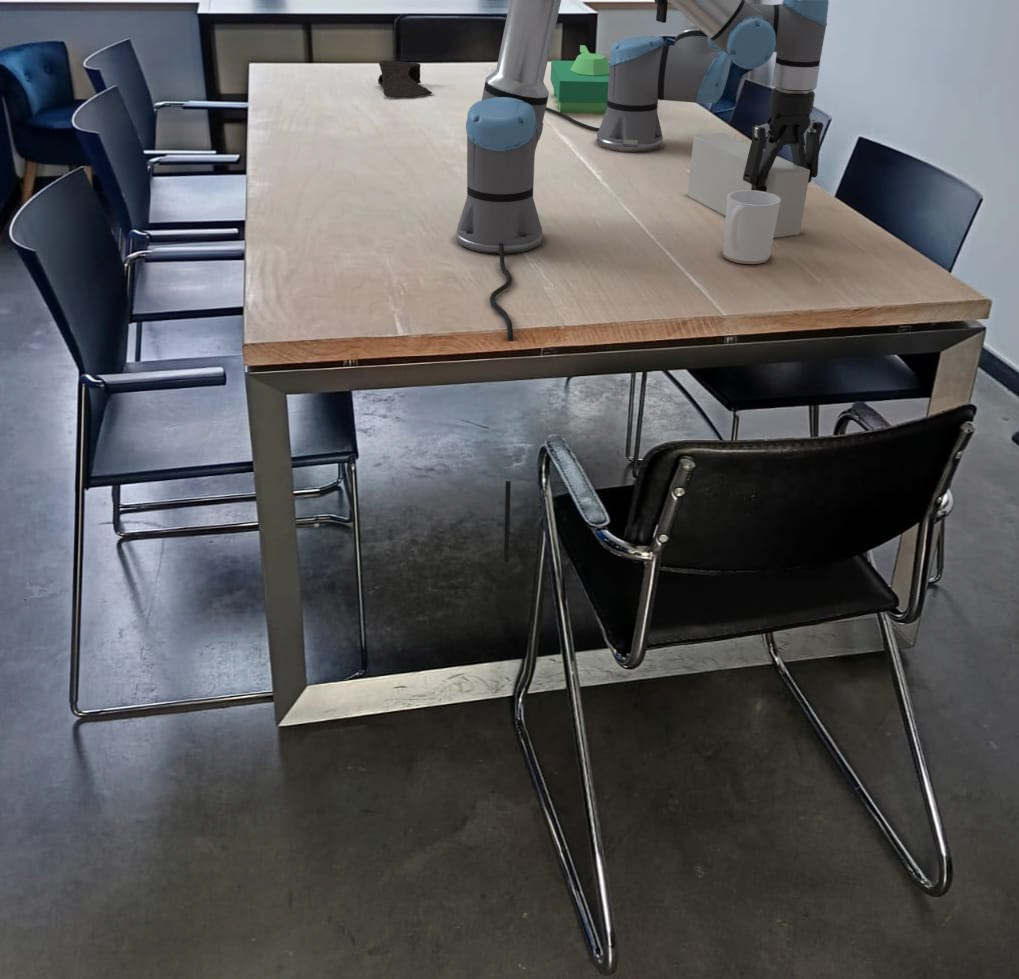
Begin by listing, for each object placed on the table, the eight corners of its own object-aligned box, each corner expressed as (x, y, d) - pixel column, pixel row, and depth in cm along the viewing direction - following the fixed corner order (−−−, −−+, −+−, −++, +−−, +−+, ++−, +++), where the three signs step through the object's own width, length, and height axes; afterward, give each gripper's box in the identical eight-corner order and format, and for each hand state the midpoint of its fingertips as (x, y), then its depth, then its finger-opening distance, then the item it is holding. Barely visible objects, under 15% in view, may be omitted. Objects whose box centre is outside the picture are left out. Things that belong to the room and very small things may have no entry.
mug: (736, 244, 196) (743, 187, 191) (781, 255, 191) (790, 197, 186) (704, 259, 189) (711, 200, 183) (750, 272, 184) (758, 211, 179)
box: (799, 234, 202) (810, 170, 196) (766, 238, 200) (776, 173, 193) (717, 192, 224) (724, 133, 218) (687, 195, 222) (693, 136, 215)
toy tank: (613, 42, 302) (631, 66, 272) (610, 88, 309) (627, 117, 279) (549, 40, 301) (560, 65, 272) (547, 87, 308) (558, 116, 278)
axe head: (443, 87, 294) (392, 77, 287) (436, 115, 299) (385, 106, 292) (421, 62, 307) (371, 52, 300) (414, 89, 311) (365, 80, 304)
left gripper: (827, 81, 197) (807, 207, 209) (732, 88, 190) (716, 217, 202) (854, 89, 191) (831, 218, 203) (756, 97, 184) (739, 230, 196)
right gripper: (747, -102, 215) (733, 14, 226) (635, -102, 206) (626, 19, 217) (769, -100, 209) (753, 20, 220) (654, -99, 200) (645, 25, 211)
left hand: (774, 218), depth 202 cm, fingers closed on box, 7 cm apart
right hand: (690, 20), depth 219 cm, fingers open, 13 cm apart
